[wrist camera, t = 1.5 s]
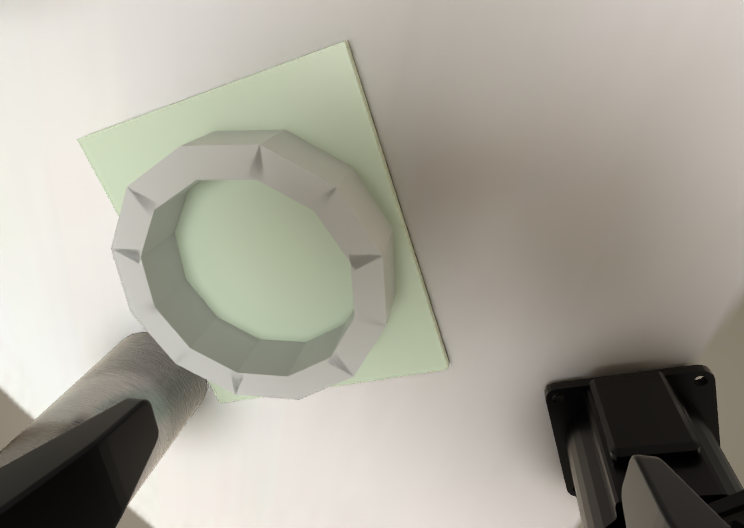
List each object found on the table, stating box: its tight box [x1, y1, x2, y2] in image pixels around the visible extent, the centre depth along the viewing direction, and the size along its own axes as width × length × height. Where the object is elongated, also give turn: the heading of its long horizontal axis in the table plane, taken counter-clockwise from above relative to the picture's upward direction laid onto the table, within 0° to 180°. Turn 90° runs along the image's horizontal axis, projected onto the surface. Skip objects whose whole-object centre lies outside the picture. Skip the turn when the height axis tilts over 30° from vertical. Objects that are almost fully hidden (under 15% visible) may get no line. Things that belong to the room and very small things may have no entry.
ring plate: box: [77, 41, 449, 403], centre depth 21 cm, size 14×12×3 cm
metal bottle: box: [0, 333, 207, 504], centre depth 21 cm, size 5×5×12 cm
